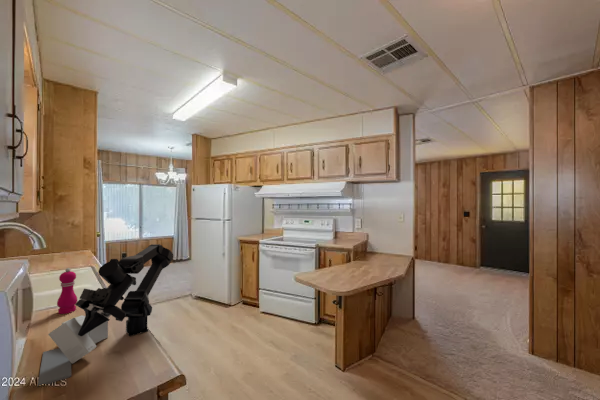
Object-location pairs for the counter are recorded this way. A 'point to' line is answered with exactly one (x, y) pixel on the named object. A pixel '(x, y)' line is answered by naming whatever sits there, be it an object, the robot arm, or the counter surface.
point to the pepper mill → (67, 293)
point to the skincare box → (72, 340)
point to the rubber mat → (54, 367)
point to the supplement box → (95, 330)
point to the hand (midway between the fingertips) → (79, 335)
